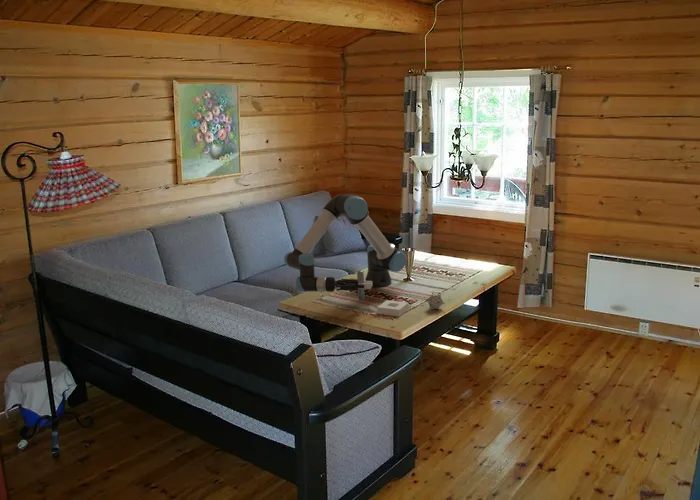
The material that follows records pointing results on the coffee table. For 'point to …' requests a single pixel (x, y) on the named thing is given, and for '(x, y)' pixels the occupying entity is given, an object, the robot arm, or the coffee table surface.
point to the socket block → (393, 308)
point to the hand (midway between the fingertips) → (371, 284)
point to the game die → (435, 301)
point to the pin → (360, 280)
